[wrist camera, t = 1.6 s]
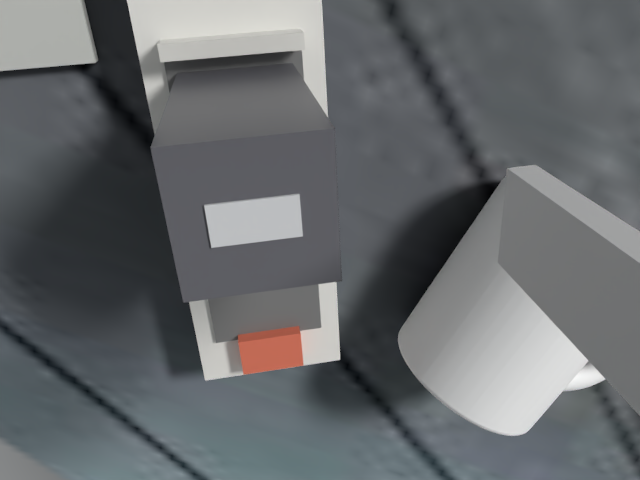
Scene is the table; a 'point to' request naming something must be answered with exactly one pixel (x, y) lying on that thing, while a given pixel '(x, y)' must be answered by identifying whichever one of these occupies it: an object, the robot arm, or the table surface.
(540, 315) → the mug
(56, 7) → the felt pad
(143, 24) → the power strip
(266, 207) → the block
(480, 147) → the table surface
